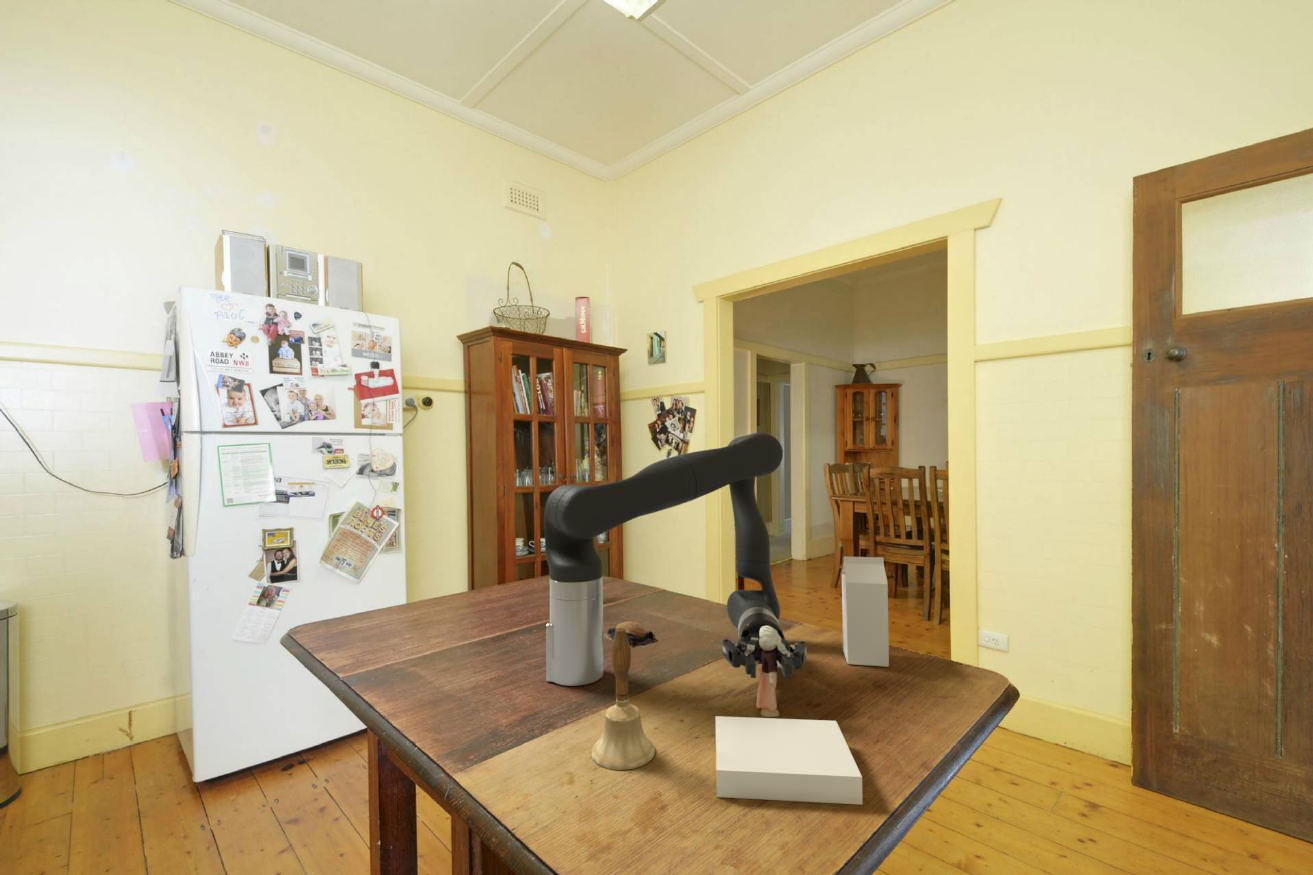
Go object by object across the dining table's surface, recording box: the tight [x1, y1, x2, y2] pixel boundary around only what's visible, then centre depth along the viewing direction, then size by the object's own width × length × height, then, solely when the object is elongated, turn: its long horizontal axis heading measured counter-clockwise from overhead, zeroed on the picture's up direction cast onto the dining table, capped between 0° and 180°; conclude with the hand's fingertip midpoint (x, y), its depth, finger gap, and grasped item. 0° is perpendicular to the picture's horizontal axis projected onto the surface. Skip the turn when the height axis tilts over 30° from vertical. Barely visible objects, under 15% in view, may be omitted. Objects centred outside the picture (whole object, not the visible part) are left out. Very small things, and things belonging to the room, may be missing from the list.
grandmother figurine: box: [755, 626, 781, 718], centre depth 84 cm, size 8×4×13 cm, turn 5°
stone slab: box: [715, 715, 864, 805], centre depth 69 cm, size 16×13×3 cm
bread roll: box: [603, 620, 658, 648], centre depth 118 cm, size 11×8×4 cm
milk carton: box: [841, 555, 890, 668], centre depth 105 cm, size 7×7×19 cm
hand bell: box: [590, 628, 656, 771], centre depth 73 cm, size 8×8×16 cm
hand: (770, 671), depth 82 cm, fingers open, 4 cm apart
